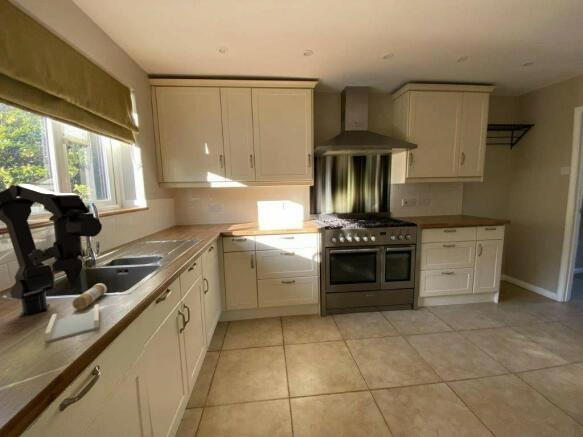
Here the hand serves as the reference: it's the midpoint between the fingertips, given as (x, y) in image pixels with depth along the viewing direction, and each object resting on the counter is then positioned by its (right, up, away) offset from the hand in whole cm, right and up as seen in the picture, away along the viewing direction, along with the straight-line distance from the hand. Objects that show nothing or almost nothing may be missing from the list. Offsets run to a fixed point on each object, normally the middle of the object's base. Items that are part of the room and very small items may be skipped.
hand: (73, 285), depth 76 cm
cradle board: (+4, -11, -3) cm, 12 cm away
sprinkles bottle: (-3, -8, +6) cm, 10 cm away
